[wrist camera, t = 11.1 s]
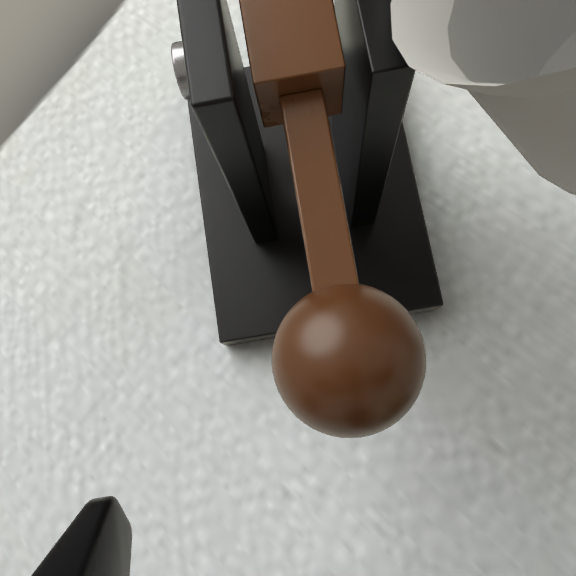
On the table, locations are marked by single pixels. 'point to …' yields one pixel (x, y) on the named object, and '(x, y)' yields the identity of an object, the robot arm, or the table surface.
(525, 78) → the chalice
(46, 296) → the table surface
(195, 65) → the bracket
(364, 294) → the lever
